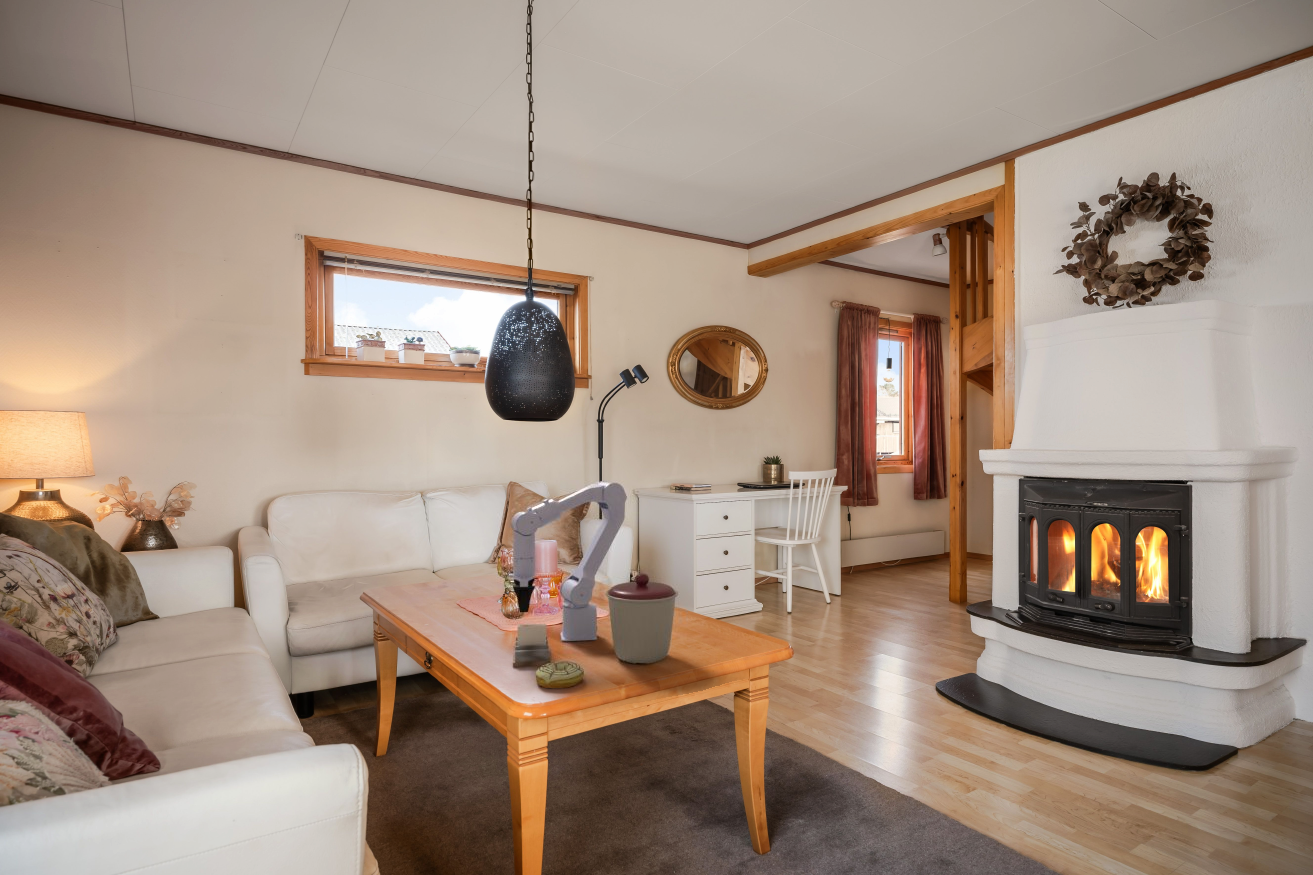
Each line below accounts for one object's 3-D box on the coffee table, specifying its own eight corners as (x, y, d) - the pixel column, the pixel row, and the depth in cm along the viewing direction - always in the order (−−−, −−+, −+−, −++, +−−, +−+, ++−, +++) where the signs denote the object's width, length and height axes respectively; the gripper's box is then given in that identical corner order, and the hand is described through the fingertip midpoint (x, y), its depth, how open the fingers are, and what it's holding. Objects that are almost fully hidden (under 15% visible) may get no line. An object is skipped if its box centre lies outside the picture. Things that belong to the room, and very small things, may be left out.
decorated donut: (528, 679, 163) (528, 663, 163) (571, 671, 168) (571, 655, 168) (546, 693, 154) (546, 676, 154) (591, 684, 159) (591, 667, 159)
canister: (692, 658, 178) (693, 574, 178) (637, 674, 166) (637, 584, 166) (645, 643, 191) (645, 564, 191) (590, 656, 179) (591, 572, 179)
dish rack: (549, 648, 186) (549, 634, 186) (550, 664, 173) (550, 650, 173) (513, 649, 185) (513, 636, 185) (512, 666, 171) (512, 652, 171)
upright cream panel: (545, 651, 180) (545, 623, 180) (546, 653, 178) (546, 625, 178) (517, 652, 179) (517, 624, 179) (517, 654, 177) (517, 626, 177)
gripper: (509, 553, 196) (509, 602, 196) (508, 562, 182) (507, 615, 182) (535, 552, 198) (535, 601, 198) (536, 561, 183) (535, 614, 183)
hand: (523, 608), depth 190 cm, fingers open, 7 cm apart
